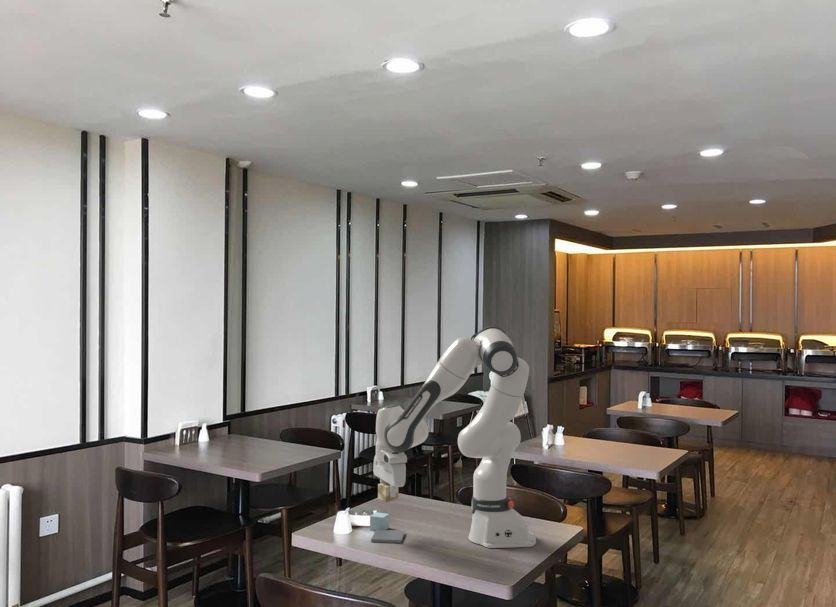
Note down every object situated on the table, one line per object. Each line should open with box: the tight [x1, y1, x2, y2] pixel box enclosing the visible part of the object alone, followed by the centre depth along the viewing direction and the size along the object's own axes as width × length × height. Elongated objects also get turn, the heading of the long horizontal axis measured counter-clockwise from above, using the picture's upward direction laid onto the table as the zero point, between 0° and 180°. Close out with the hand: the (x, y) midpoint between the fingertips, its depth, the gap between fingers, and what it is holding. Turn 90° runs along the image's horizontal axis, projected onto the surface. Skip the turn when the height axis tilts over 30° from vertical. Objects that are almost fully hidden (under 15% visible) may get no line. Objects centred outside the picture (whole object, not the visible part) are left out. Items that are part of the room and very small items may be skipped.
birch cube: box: [377, 483, 399, 503], centre depth 228 cm, size 5×5×5 cm
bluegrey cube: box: [369, 511, 390, 532], centre depth 237 cm, size 5×5×5 cm
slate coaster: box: [370, 529, 406, 544], centre depth 228 cm, size 10×10×1 cm
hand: (388, 494), depth 228 cm, fingers closed on birch cube, 5 cm apart
